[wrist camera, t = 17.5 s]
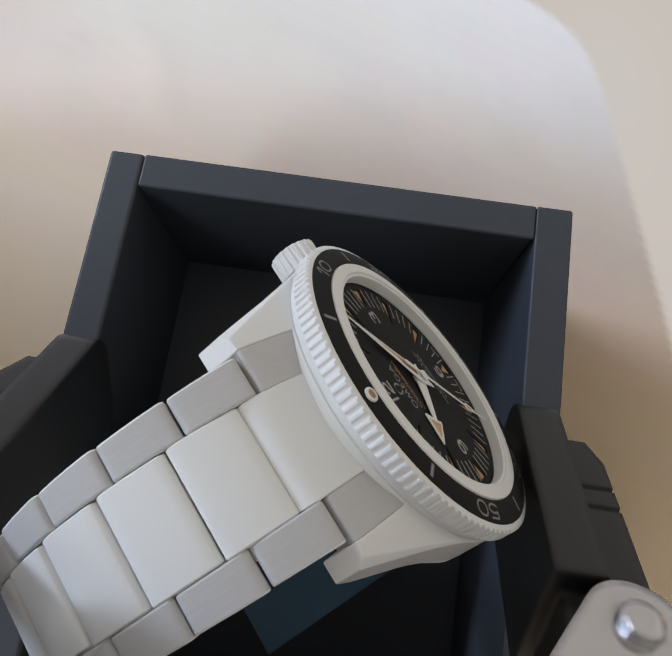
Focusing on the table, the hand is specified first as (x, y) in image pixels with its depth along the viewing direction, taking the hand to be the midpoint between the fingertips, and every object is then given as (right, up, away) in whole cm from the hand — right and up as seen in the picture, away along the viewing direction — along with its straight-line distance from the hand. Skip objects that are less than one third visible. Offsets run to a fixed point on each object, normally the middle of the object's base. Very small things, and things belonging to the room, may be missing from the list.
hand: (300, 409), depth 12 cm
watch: (0, -3, +6) cm, 7 cm away
